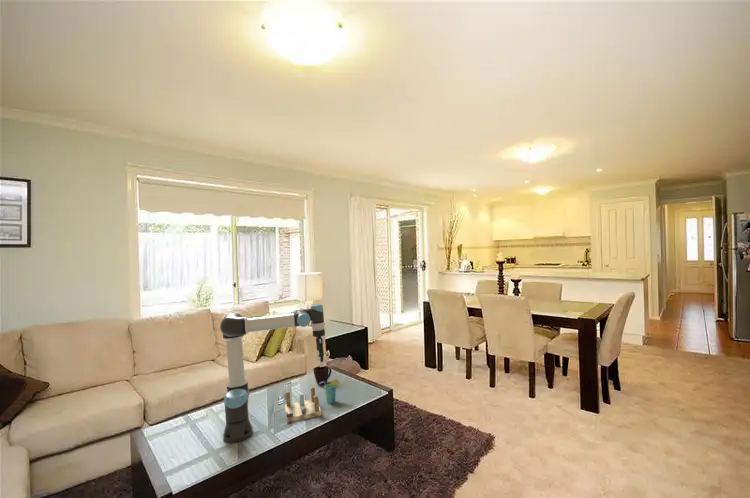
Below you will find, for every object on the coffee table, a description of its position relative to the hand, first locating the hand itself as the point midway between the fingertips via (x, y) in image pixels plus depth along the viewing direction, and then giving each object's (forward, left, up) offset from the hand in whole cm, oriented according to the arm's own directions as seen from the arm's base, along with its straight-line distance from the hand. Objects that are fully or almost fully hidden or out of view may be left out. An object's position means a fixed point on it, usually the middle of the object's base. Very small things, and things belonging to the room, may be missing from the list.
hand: (320, 363), depth 223 cm
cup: (+5, +7, -28) cm, 29 cm away
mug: (+7, +44, -28) cm, 52 cm away
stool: (-13, +1, -28) cm, 31 cm away
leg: (-13, -3, -25) cm, 28 cm away
